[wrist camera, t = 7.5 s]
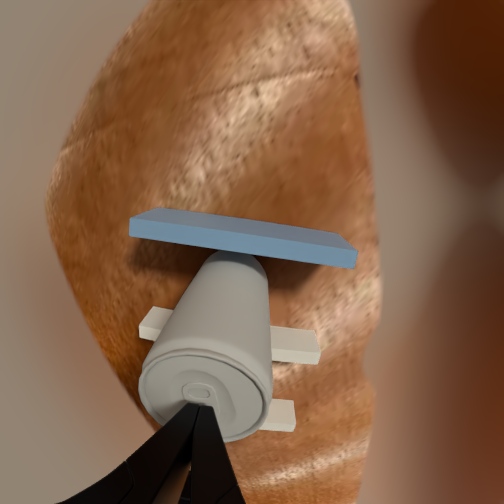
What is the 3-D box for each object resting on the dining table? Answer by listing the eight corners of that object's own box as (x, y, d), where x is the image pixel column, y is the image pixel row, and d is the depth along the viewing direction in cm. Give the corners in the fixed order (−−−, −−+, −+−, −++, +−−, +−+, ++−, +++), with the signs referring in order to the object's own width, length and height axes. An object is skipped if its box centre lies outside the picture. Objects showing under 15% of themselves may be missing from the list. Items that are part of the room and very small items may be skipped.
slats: (290, 407, 23) (294, 444, 19) (155, 387, 23) (140, 421, 19) (337, 233, 19) (358, 251, 15) (157, 207, 19) (129, 217, 15)
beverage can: (204, 312, 21) (156, 440, 10) (194, 249, 20) (116, 347, 8) (270, 308, 21) (276, 444, 9) (264, 243, 20) (268, 345, 8)
